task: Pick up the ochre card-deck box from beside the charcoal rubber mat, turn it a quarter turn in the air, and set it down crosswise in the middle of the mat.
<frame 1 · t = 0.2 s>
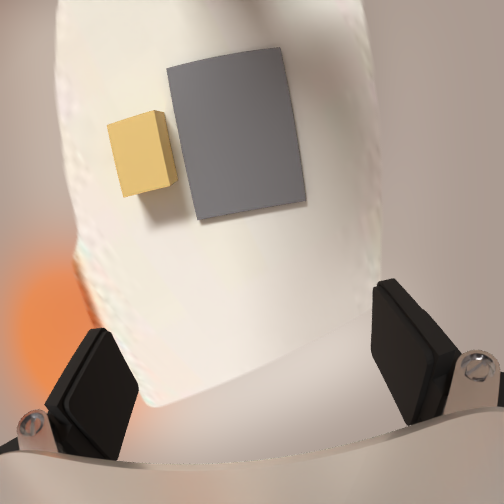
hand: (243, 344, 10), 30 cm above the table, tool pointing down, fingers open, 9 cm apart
mat: (237, 131, 35), on the table
deck box: (148, 151, 36), on the table
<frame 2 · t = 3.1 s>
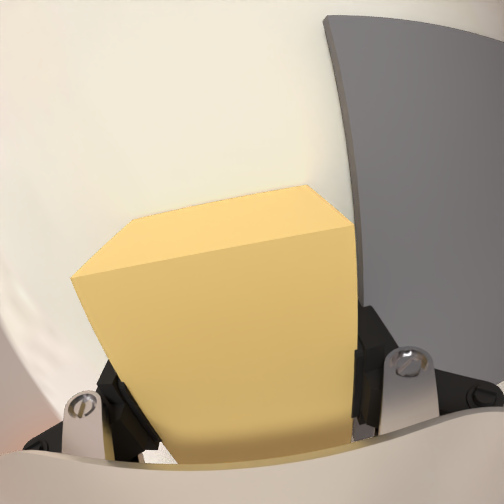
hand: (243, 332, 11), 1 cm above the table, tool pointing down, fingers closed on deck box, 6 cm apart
mat: (488, 259, 11), on the table
deck box: (242, 316, 12), on the table, touching gripper
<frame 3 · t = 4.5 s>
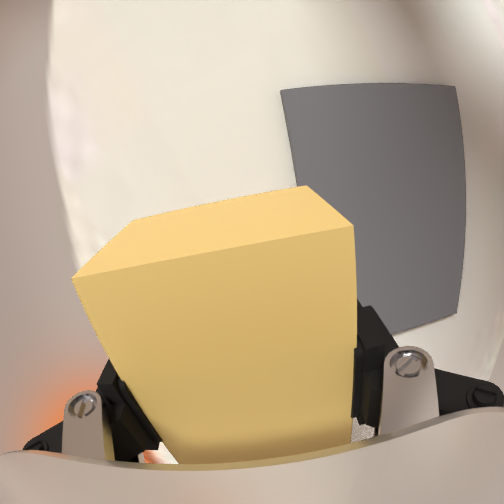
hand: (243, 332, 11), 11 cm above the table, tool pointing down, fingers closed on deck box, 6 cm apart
mat: (393, 219, 21), on the table
deck box: (242, 316, 12), point 10 cm above the table, touching gripper
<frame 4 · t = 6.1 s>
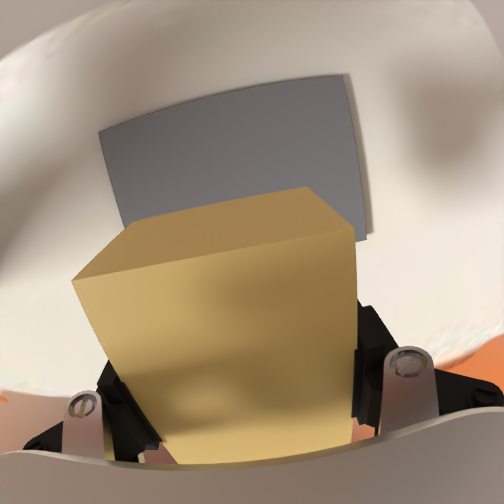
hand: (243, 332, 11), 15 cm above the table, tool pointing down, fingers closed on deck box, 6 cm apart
mat: (235, 180, 24), on the table
deck box: (243, 318, 12), point 14 cm above the table, touching gripper
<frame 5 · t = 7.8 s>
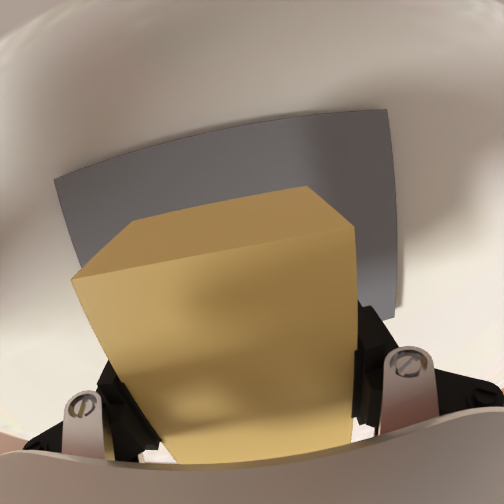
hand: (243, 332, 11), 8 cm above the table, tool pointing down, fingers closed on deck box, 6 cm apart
mat: (235, 250, 18), on the table
deck box: (243, 317, 12), point 7 cm above the table, touching gripper
when the fingers open (3 cm above the table, at t = 9.2 s): deck box drops 1 cm, resting on mat.
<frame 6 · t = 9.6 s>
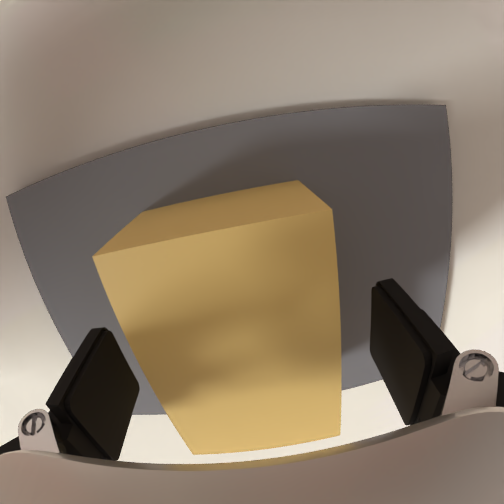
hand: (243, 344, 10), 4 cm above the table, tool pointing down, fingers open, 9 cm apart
mat: (242, 293, 13), on the table
deck box: (241, 300, 13), point 1 cm above the table, touching mat
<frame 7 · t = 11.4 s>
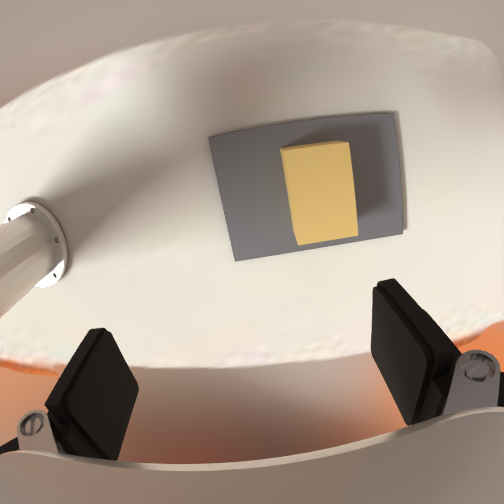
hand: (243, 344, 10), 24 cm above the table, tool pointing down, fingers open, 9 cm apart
mat: (314, 185, 32), on the table
deck box: (315, 186, 31), point 1 cm above the table, touching mat
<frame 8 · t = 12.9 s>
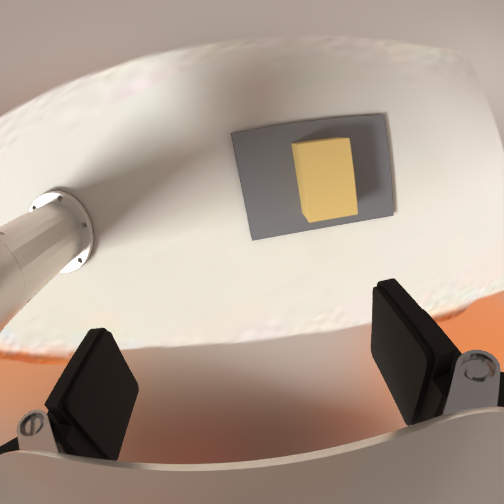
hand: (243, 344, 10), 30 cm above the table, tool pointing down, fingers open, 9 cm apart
mat: (319, 174, 38), on the table
deck box: (320, 175, 37), point 1 cm above the table, touching mat
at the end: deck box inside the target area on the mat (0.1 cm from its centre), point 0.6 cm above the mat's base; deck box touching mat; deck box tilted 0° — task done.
